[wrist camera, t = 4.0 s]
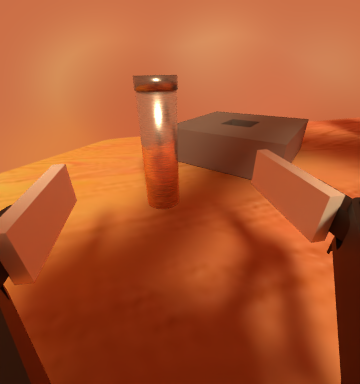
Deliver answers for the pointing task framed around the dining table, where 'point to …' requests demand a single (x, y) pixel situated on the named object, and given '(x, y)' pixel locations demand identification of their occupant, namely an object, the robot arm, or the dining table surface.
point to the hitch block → (237, 140)
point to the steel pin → (159, 137)
